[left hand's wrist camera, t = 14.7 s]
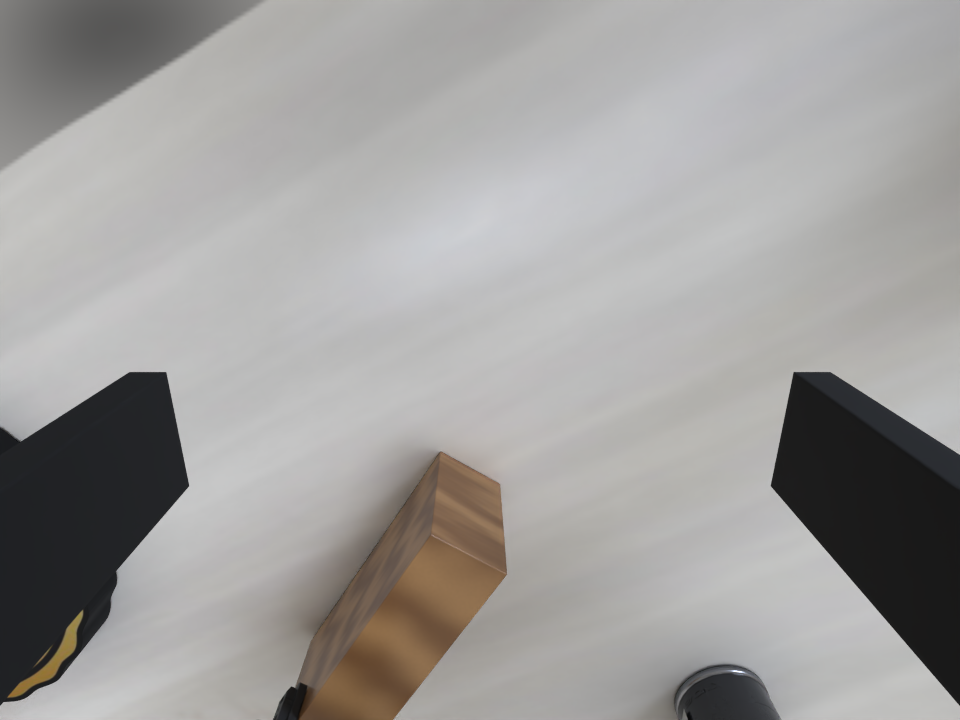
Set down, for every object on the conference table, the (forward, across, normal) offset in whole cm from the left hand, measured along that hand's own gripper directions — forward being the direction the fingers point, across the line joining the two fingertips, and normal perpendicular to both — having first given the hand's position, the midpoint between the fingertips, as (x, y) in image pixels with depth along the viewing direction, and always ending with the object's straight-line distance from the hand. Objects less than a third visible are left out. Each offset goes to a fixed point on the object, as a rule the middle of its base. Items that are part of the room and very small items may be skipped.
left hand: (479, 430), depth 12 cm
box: (+33, -7, -31) cm, 46 cm away
